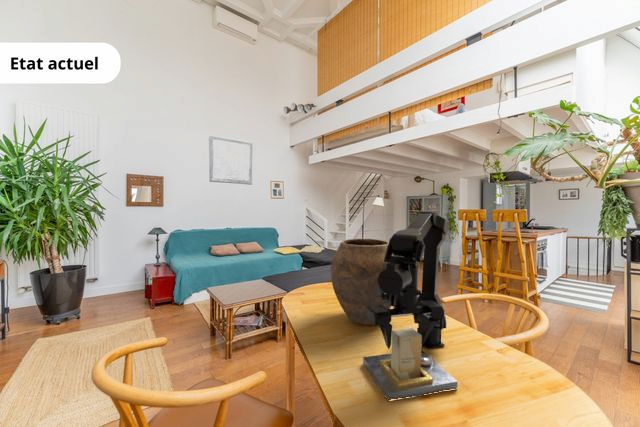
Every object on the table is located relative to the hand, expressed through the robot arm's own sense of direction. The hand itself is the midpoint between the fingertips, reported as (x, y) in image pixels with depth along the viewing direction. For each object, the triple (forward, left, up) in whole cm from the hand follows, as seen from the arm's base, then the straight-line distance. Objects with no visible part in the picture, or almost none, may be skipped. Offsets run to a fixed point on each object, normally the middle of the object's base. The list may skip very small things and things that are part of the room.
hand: (405, 345), depth 70 cm
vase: (-4, -37, -9) cm, 38 cm away
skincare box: (0, 0, -9) cm, 9 cm away
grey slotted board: (-1, -1, -9) cm, 9 cm away
